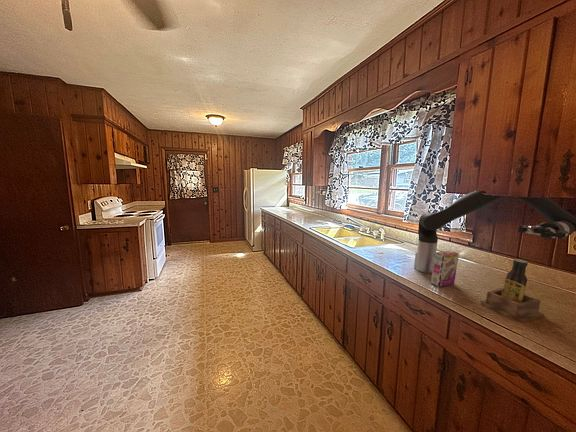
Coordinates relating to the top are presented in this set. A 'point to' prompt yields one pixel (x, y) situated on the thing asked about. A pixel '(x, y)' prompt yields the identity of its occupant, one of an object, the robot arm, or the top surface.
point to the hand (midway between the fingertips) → (532, 232)
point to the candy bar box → (444, 268)
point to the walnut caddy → (513, 306)
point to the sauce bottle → (515, 281)
